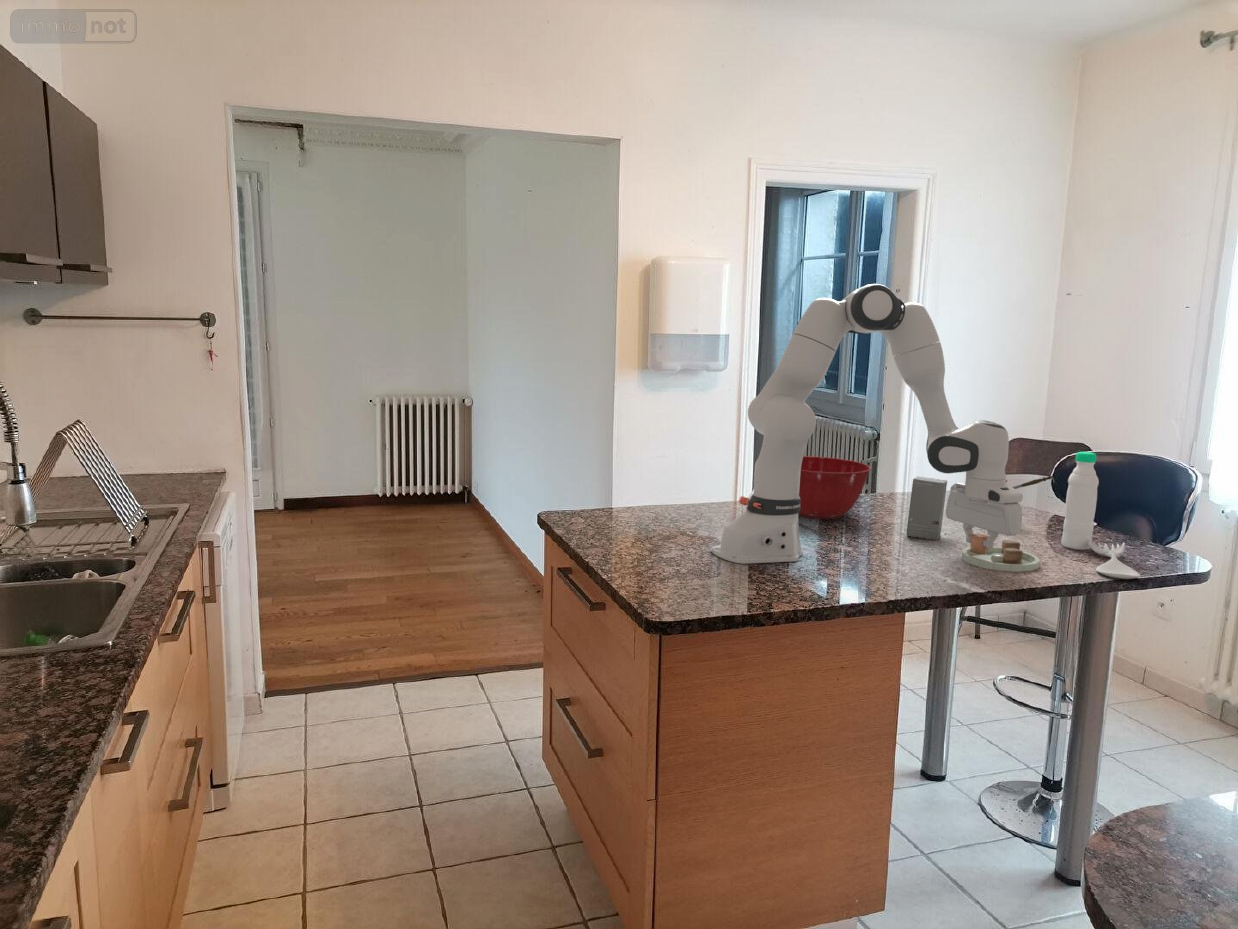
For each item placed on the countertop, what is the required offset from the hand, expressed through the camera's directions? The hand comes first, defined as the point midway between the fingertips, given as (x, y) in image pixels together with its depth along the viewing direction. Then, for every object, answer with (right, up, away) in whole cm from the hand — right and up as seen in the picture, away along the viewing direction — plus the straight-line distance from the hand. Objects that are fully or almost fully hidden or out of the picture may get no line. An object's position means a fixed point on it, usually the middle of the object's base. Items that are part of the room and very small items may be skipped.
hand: (979, 545), depth 218 cm
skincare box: (-4, 0, +27) cm, 27 cm away
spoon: (+32, -5, 0) cm, 32 cm away
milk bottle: (+33, -2, +19) cm, 38 cm away
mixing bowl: (-28, +4, +51) cm, 58 cm away
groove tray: (+4, -5, -1) cm, 7 cm away
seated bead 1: (+8, -3, +2) cm, 9 cm away
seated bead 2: (+5, -5, -6) cm, 9 cm away
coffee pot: (+26, +2, +44) cm, 51 cm away
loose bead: (0, -2, 0) cm, 2 cm away
